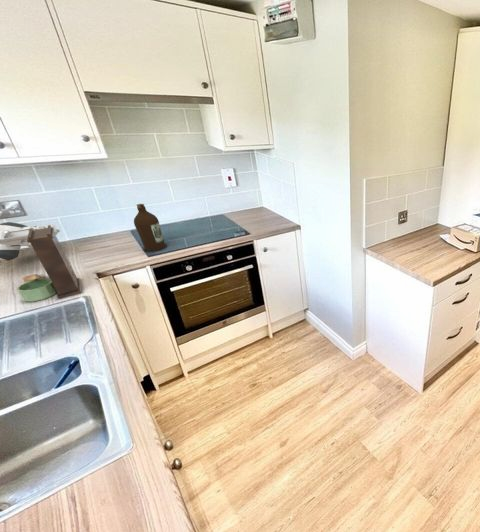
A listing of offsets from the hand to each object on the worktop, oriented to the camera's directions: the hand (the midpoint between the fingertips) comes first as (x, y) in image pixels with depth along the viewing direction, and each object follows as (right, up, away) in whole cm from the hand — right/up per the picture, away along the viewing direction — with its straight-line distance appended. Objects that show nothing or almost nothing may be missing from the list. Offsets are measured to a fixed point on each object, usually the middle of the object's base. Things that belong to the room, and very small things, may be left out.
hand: (21, 229), depth 143 cm
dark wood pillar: (+25, -26, -3) cm, 37 cm away
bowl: (+19, -29, -8) cm, 35 cm away
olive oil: (+33, -6, +36) cm, 49 cm away
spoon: (+12, -22, -4) cm, 26 cm away
